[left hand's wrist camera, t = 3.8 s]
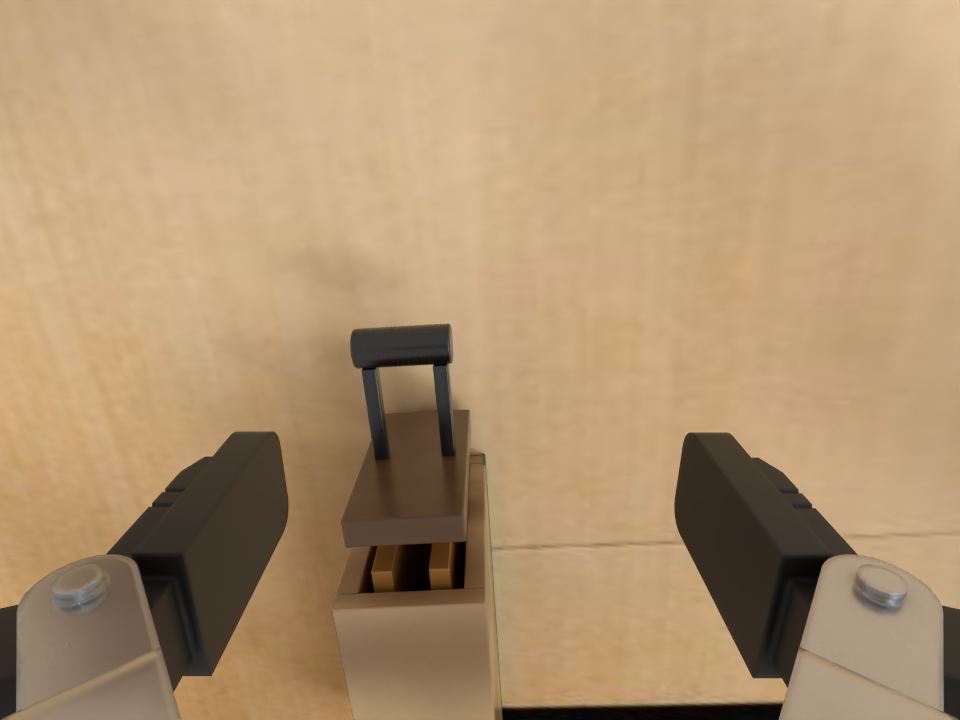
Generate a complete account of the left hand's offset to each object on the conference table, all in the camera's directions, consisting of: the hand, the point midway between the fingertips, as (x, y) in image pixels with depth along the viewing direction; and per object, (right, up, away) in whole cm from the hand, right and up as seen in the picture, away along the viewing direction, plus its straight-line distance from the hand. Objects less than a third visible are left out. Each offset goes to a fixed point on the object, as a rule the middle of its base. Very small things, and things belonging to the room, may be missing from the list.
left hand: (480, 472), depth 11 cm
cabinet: (-2, -12, +23) cm, 26 cm away
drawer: (-2, -6, +20) cm, 21 cm away
